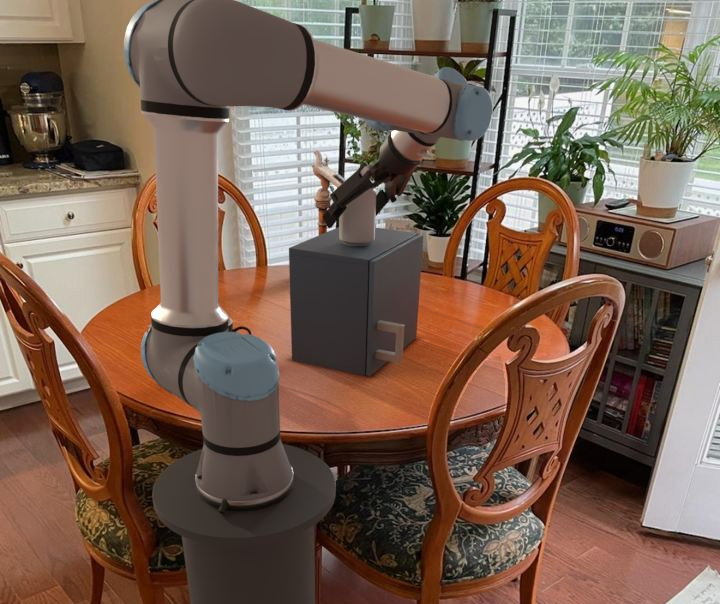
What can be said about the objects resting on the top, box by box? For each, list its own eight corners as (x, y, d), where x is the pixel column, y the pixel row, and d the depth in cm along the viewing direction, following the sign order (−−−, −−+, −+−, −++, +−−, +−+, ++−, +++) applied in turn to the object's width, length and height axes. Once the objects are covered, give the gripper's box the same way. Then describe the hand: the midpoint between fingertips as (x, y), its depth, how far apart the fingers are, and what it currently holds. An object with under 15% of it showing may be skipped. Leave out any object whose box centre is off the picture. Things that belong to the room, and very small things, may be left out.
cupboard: (411, 337, 172) (418, 233, 159) (365, 375, 151) (368, 259, 139) (345, 324, 178) (346, 223, 165) (291, 360, 158) (288, 247, 145)
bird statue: (361, 271, 219) (365, 147, 201) (354, 283, 208) (357, 153, 190) (309, 268, 221) (307, 144, 203) (299, 279, 210) (297, 150, 192)
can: (334, 239, 152) (334, 179, 146) (367, 237, 154) (368, 178, 148) (346, 248, 146) (347, 185, 140) (380, 245, 148) (382, 184, 142)
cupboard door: (439, 341, 169) (448, 237, 157) (395, 381, 149) (401, 265, 136) (412, 336, 172) (419, 233, 159) (366, 375, 151) (369, 260, 139)
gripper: (371, 168, 125) (313, 242, 142) (456, 158, 139) (395, 226, 156) (350, 132, 125) (296, 210, 142) (438, 125, 139) (379, 196, 157)
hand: (348, 218), depth 149 cm, fingers open, 11 cm apart
